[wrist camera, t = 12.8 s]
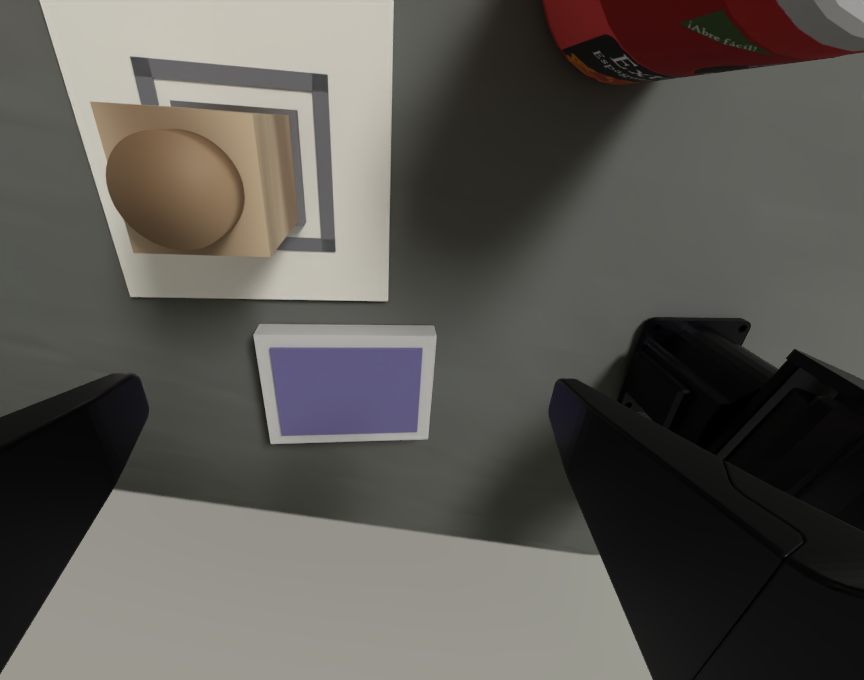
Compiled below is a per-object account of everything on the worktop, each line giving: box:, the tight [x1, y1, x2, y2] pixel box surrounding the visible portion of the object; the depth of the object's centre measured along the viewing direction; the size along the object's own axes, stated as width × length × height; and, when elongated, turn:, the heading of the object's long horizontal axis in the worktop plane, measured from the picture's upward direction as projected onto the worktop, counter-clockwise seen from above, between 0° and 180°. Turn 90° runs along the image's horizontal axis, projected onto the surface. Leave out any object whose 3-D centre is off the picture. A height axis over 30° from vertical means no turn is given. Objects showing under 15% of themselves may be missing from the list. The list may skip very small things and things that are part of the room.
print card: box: [40, 0, 394, 301], centre depth 17 cm, size 12×12×1 cm
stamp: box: [90, 100, 306, 257], centre depth 14 cm, size 4×4×7 cm
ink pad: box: [253, 324, 437, 444], centre depth 22 cm, size 9×7×1 cm
